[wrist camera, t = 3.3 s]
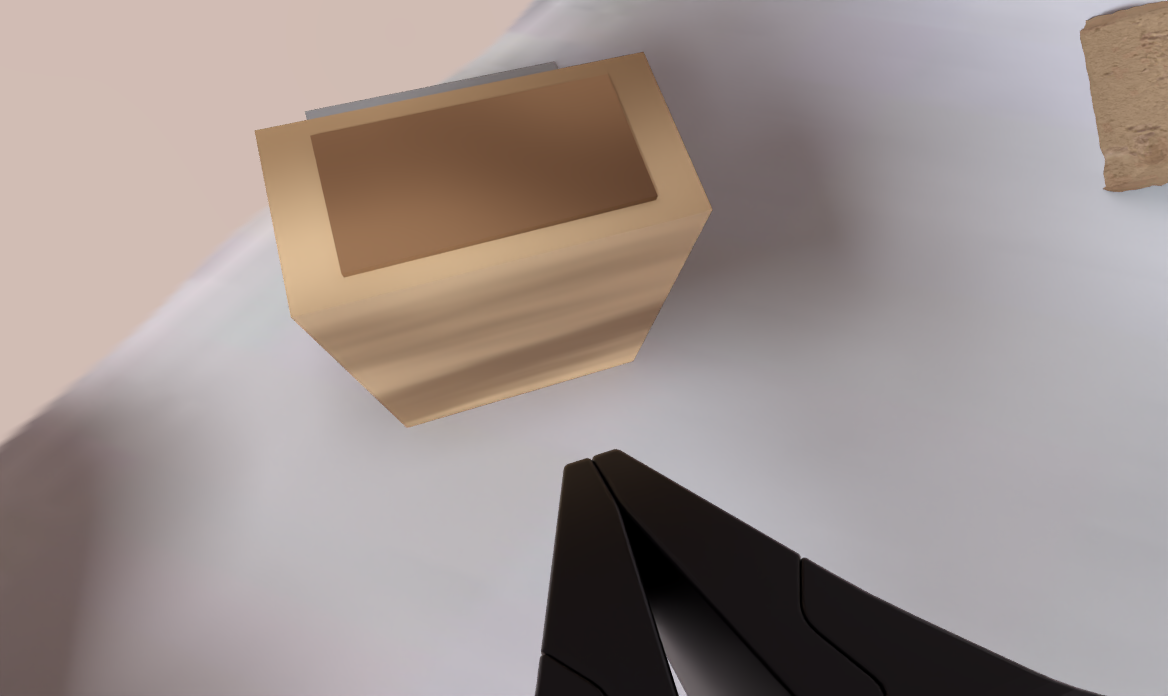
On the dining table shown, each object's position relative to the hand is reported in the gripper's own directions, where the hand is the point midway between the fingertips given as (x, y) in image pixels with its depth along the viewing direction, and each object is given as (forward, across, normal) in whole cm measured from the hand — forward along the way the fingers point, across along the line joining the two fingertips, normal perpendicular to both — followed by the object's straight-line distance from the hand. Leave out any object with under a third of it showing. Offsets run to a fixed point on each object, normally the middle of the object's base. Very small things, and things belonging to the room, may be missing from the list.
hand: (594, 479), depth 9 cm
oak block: (+12, 0, +3) cm, 13 cm away
